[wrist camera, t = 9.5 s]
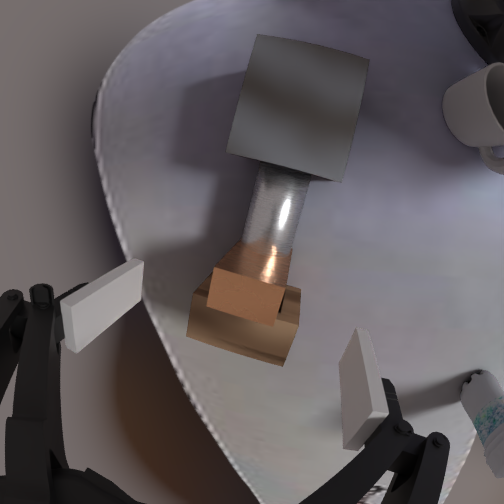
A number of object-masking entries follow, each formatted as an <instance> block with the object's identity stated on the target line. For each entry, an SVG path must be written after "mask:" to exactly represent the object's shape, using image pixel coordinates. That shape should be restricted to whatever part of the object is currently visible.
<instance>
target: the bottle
mask: <svg viewBox="0 0 504 504" xmlns="http://www.w3.org/2000/svg"><path fill="white" fill-rule="evenodd" d="M471 378H472V380H471V382H470V383H469V384H468V382H465V383H464V384H463V386H462V392H461V394H460V399H461V403H462V405H463V407H464V409H465V411H466V412H467V414H468V416H469V417H470V419H471V420H472V422H473V424H474V426H475V429H476V431H477V433H478V435H479V437H480V440H481V442H482V444H483V446H484V449H485V450H484V456H485V457H486V462H487V464H488V465H489V467H490V468H491V470H492V472H493V473H494V475H495V477H496V478H502V477H504V391H503V389H502V387H501V385H500V383H499V382H498V380H497V378H496V377H495V376H494V375H493V374H491V373H490V372H488V371H486V370H482V371H481V372H480V375H478V374H475V373H474V374H473V375H472V376H471Z"/></svg>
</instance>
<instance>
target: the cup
mask: <svg viewBox="0 0 504 504" xmlns="http://www.w3.org/2000/svg"><path fill="white" fill-rule="evenodd" d="M442 109H443V114H444V118H445V121H446V123H447V126H448V127H449V129H450V131H451V132H452V134H453V135H454V136H455V137H456V138H457V139H458V140H459V141H460V142H462V143H463V144H465V145H468V146H470V147H478V148H479V152H480V155H481V157H482V160H483V161H484V163H485V164H486V166H487V167H488V168H489V169H491V170H492V171H494V172H497V173H499V174H503V175H504V158H498V157H496V156H495V155H494V153H493V150H492V146H504V63H500V62H498V63H493V64H491V65H489V66H487V67H485V68H483V69H481V70H479V71H477V72H475V73H473V74H471V75H470V76H468V77H466V78H464V79H462V80H460V81H458V82H457V83H455V84H453V85H452V86H451V87H449V88H448V89H447V91H446V92H445V94H444V97H443V101H442Z"/></svg>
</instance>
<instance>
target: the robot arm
mask: <svg viewBox="0 0 504 504" xmlns="http://www.w3.org/2000/svg"><path fill="white" fill-rule="evenodd" d="M451 2H452V8H453V12H454V15H455V17H456V20H457V22H458V24H459V26H460V28H461V30H462V31H463V33H464V34H465V36H466V38H467V39H468V40H469V42H470V43H471V45H472V46H473V47H474V48H475V50H476V51H477V52H478V53H479V54H480V56H481V57H482V58H483V59H484V60H485V61H486V62H487V63H488V64H489V65H491V64H493V63H498V62H500V63H504V0H451ZM143 268H144V261H141V260H138V259H135V258H133V259H131V260H130V261H128V262H126V263H124V264H122V265H121V266H119V267H117V268H115V269H114V270H112V271H110V272H108V273H107V274H105V275H103V276H101V277H99V278H98V279H96V280H94V281H93V282H91V283H83V284H79V285H77V286H76V287H74V288H73V289H70V290H69V291H68V292H65V293H64V294H62V295H60V296H58V297H57V298H55V299H54V293H53V288H52V287H51V286H50V285H48V284H36V285H34V286H32V287H31V288H30V289H29V292H30V299H31V302H28V301H24V298H23V293H22V292H21V291H19V290H14V289H12V290H8V291H6V292H4V293H3V294H2V296H1V297H0V404H1V401H2V399H3V396H4V394H5V391H6V389H7V387H8V384H9V382H10V379H11V377H12V375H13V372H14V371H15V368H16V366H17V364H18V369H17V376H16V384H15V392H14V402H13V414H12V417H8V418H7V420H6V431H5V469H6V475H4V476H0V504H145V503H141V502H137V501H135V500H134V499H133V498H131V497H130V496H129V495H127V494H126V493H125V492H124V491H123V490H121V489H120V488H119V487H118V486H117V485H115V484H114V483H113V482H112V481H110V480H108V479H106V478H105V477H103V476H101V475H100V474H98V473H96V472H95V471H93V470H91V469H90V468H87V469H86V471H85V472H83V471H80V470H75V469H70V468H69V466H68V463H67V460H66V456H65V450H64V441H63V432H62V419H61V399H60V356H61V344H60V341H61V340H62V339H64V338H65V343H66V347H67V348H69V349H70V350H72V351H73V352H75V353H78V352H79V351H80V350H82V349H83V348H84V347H85V346H86V345H87V344H89V343H90V342H91V341H92V340H93V339H95V338H96V337H97V336H98V335H99V334H100V333H102V332H103V331H104V330H105V329H106V328H108V327H109V326H110V325H111V324H112V323H114V322H115V321H116V320H117V319H119V318H120V317H121V316H122V315H123V314H124V313H126V312H127V311H128V310H129V309H131V308H132V307H133V306H134V305H136V304H137V303H138V302H139V301H140V300H141V293H142V280H143ZM18 362H19V363H18ZM339 374H340V388H341V405H342V429H343V449H348V450H356V451H358V450H359V449H360V448H361V447H362V446H363V445H364V444H365V448H364V449H363V450H362V451H361V452H360V453H359V454H358V455H357V456H356V457H355V458H354V459H353V460H352V461H351V462H350V463H348V464H347V465H346V466H345V467H344V468H343V469H342V470H341V471H339V472H338V473H337V474H336V475H335V476H334V477H332V478H331V479H330V480H329V481H328V482H326V483H325V484H324V485H323V486H321V487H320V488H319V489H318V490H316V491H315V492H314V493H312V494H311V495H310V496H308V497H307V498H306V499H304V500H303V501H302V502H300V503H299V504H356V503H357V502H358V501H359V500H360V499H361V498H362V497H363V496H364V495H365V494H366V493H367V492H368V491H369V490H370V489H371V488H372V487H373V486H374V484H375V483H376V482H377V481H378V480H379V479H380V478H381V477H382V475H383V474H384V473H385V472H386V471H387V470H389V471H392V472H395V473H394V476H393V478H392V480H391V483H390V485H389V487H388V489H387V492H386V494H385V496H384V498H383V500H382V502H381V504H438V500H439V497H440V493H441V489H442V485H443V481H444V476H445V471H446V466H447V461H448V456H449V450H450V442H449V440H448V438H447V437H446V436H445V435H443V434H442V433H439V432H432V433H431V434H429V436H428V437H427V438H426V437H423V436H420V435H417V434H415V433H414V431H413V428H412V426H411V425H410V424H409V423H408V422H407V421H405V420H403V418H402V414H401V410H400V406H399V402H398V401H397V400H398V399H397V395H396V391H395V388H394V386H393V384H392V383H391V381H390V380H389V379H385V378H381V376H380V372H379V368H378V364H377V360H376V356H375V353H374V349H373V345H372V342H371V338H370V335H369V331H368V330H366V329H362V328H358V327H356V329H355V331H354V333H353V335H352V338H351V340H350V342H349V344H348V346H347V348H346V350H345V352H344V354H343V356H342V358H341V360H340V362H339Z"/></svg>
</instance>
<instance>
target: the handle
mask: <svg viewBox="0 0 504 504" xmlns="http://www.w3.org/2000/svg"><path fill="white" fill-rule="evenodd" d="M311 175H312V174H310V173H307V172H303V171H299V170H296V169H292V168H288V167H285V166H281V165H277V164H273V163H269V162H265V161H261V162H260V166H259V170H258V174H257V178H256V183H255V187H254V191H253V195H252V199H251V203H250V207H249V211H248V215H247V219H246V223H245V228H244V232H243V236H242V238H241V239H240V240H239V241H238V242H237V243H236V244H235V246H234V247H233V248H232V249H231V250H230V251H229V252H228V253H227V254H226V255H225V256H224V257H223V258H222V259H221V260H220V261H219V262H218V263H217V264H216V265H215V267H214V270H213V275H212V280H211V285H210V290H209V295H208V300H207V305H206V306H207V307H210V308H213V309H216V310H219V311H222V312H225V313H229V314H232V315H235V316H238V317H241V318H245V319H248V320H251V321H255V322H258V323H261V324H265V325H268V326H272V327H273V326H274V323H275V320H276V317H277V314H278V311H279V307H280V304H281V301H282V298H283V295H284V292H285V289H286V283H287V278H288V272H289V267H290V261H291V255H292V248H291V247H292V244H293V240H294V237H295V233H296V230H297V226H298V223H299V219H300V215H301V212H302V208H303V205H304V201H305V197H306V194H307V190H308V186H309V182H310V179H311Z"/></svg>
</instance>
